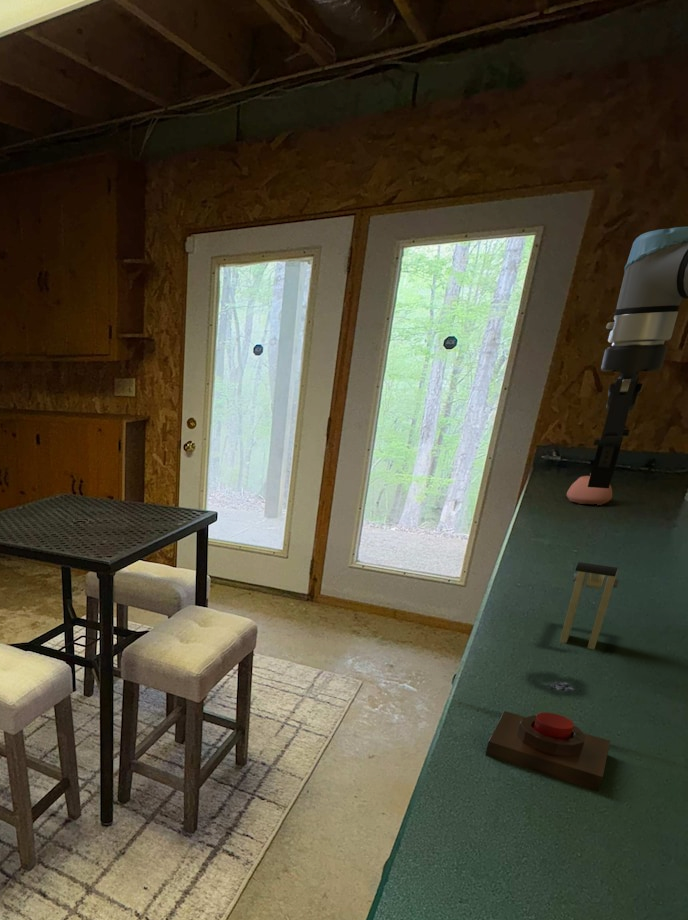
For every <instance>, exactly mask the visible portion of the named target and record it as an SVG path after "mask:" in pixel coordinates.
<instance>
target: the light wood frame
mask: <svg viewBox="0 0 688 920" xmlns="http://www.w3.org/2000/svg"><path fill="white" fill-rule="evenodd" d="M618 572H619V570H618V569H617V572H616V576H615V577H614V576H607V577H606V581H605V585H604V588H603V592H602V595H601V599H600V602H599V606H598V609H597V613H596V615H595V620H594V623H593V626H592V630H591V634H590V637H589V640H588V644H587V647H586V648H587V649H590V650H596V647H597V643H598V639H599V636H600V634H601V633H600V632H601V629H602V626H603V623H604V619H605V616H606V612H607V609H608V606H609V602H610V600H611V599H610V598H611V595H612V592H613V589H617V588H618V585H619V581H620V579H617V575H618ZM587 574H588V573H587V572H580V571H577V572H575V573H574V575H573V576H572V577H573V578H572V582H574V586H573V589H572V593H571V597H570V601H569V604H568V608H567V612H566V616H565V620H564V624H563V626H562V630H561V633H560V638H559V643H562V644H567V643H568V640H569V638H570V635H571V631H572V628H573V625H574V621H575V617H576V614H577V610H578V607H579V603H580V599H581V596H582V593H583V588H584V584H585V581H586V578H587Z"/></svg>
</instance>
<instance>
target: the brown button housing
mask: <svg viewBox="0 0 688 920" xmlns="http://www.w3.org/2000/svg"><path fill="white" fill-rule="evenodd" d="M536 716H537V714H535V715H534V714H532V715H528V716H525V715H524V716H523V715H520V714H516V713H514V712H510V711H505V710H504V711H503V712H502V714H501V717H500V719H499V721H498V723H497V724H496V726H495V728H494V729H493V732H492V734H491V735H490V738H489V740H488V741H487V746H486V750H485V754H484V755H485V756H487V757H490V758H493V759H496V760H499V761H502V762H505V763H509V764H511V765H515V766H517V767H520V768H524V769H526V770H531V771H532V772H536V773H538V774H539V773H540V774H543V775H545V776H549V777H551V778H555V779H557V780H561V781H564V782H567V783H570V784H573V785H577V786H579V787H582V788H586V789H588V790H592V791H595V792H599V790H600V787H601V784H602V781H603V778H604V773H605V769H606V764H607V760H608V754H609V750H610V744H611V740H609V739H606V738H603V737H599V736H595V735H592V734H588V733H586V732H585V733H584V732H583V731H582V729H580V727H578V726H576V725H574V727H573V731H572V734H571V737H570V738H569V739H566V740H565V739H555V738H551V737H548V736H544V735H542V734H541V733H539V732H537V731H535V730H534V723H535V719H536Z"/></svg>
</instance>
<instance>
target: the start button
mask: <svg viewBox="0 0 688 920" xmlns="http://www.w3.org/2000/svg"><path fill="white" fill-rule="evenodd" d="M536 715H537V716H536V719H535V723H534V730H535V731H537V732H539V733H541V734H542V735H544V736H548V737H551V738H555V739H565V740H566V739H569V738H570V737H571V734H572V731H573V727H574V726H575V723H574V722H573V721H572V720H571V719H570V718H568V717H566V716H563V715H561V714H558V713H553V712H539V713H537V714H536Z"/></svg>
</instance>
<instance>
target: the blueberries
mask: <svg viewBox="0 0 688 920" xmlns="http://www.w3.org/2000/svg"><path fill="white" fill-rule="evenodd" d="M553 684H554V685H551V684H548V685H546V687H547V688H548V689H550V690H558V691H563V692H564V691H565V692H569V691H571V692H572V691H573V692H574V691H575V690H576V688H575V687H574V686H573V685H570V683H568V682H566V681H562V682H558V681H553Z"/></svg>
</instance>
